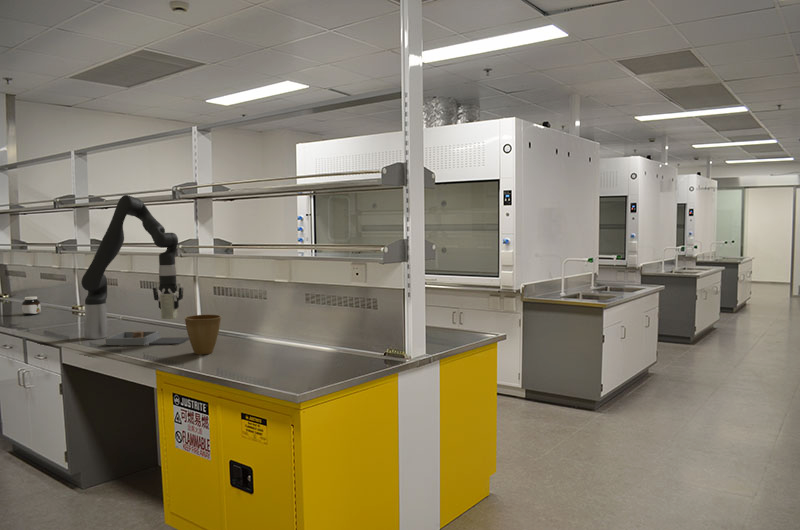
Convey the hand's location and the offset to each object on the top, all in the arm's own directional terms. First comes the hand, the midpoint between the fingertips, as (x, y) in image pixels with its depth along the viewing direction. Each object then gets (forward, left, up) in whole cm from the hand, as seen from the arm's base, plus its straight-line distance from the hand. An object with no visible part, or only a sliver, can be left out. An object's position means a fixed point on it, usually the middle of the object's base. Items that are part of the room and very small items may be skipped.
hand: (168, 308), depth 267 cm
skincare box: (0, 0, -5) cm, 5 cm away
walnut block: (-18, +6, -16) cm, 25 cm away
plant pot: (+25, -25, -16) cm, 39 cm away
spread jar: (-129, +95, -16) cm, 161 cm away
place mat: (0, 0, -16) cm, 16 cm away
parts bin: (-18, +1, -16) cm, 24 cm away
